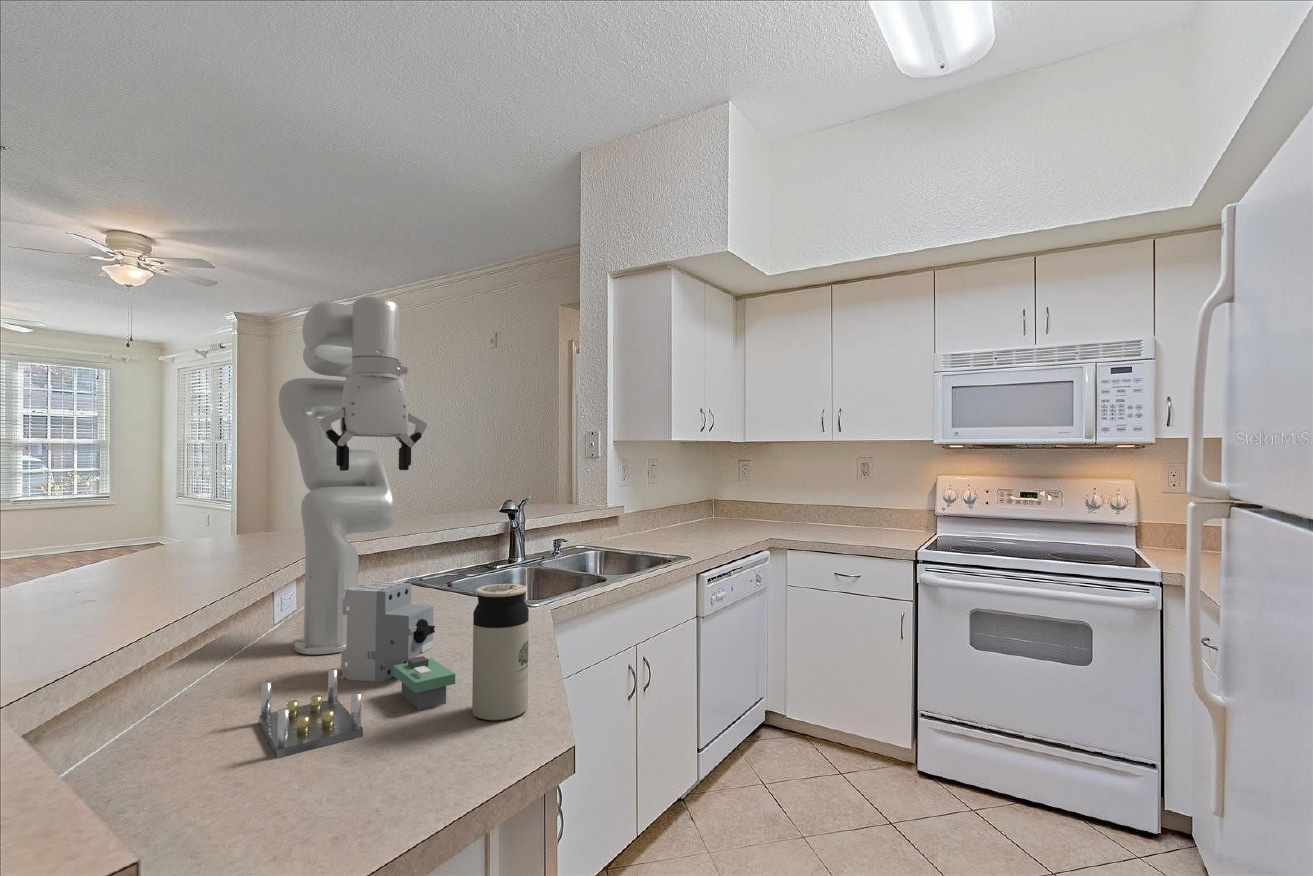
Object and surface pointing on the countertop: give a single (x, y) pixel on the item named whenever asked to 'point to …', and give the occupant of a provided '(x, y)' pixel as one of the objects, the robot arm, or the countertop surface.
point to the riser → (425, 697)
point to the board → (423, 674)
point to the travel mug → (500, 652)
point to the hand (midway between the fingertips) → (374, 470)
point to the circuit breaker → (383, 630)
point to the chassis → (309, 721)
